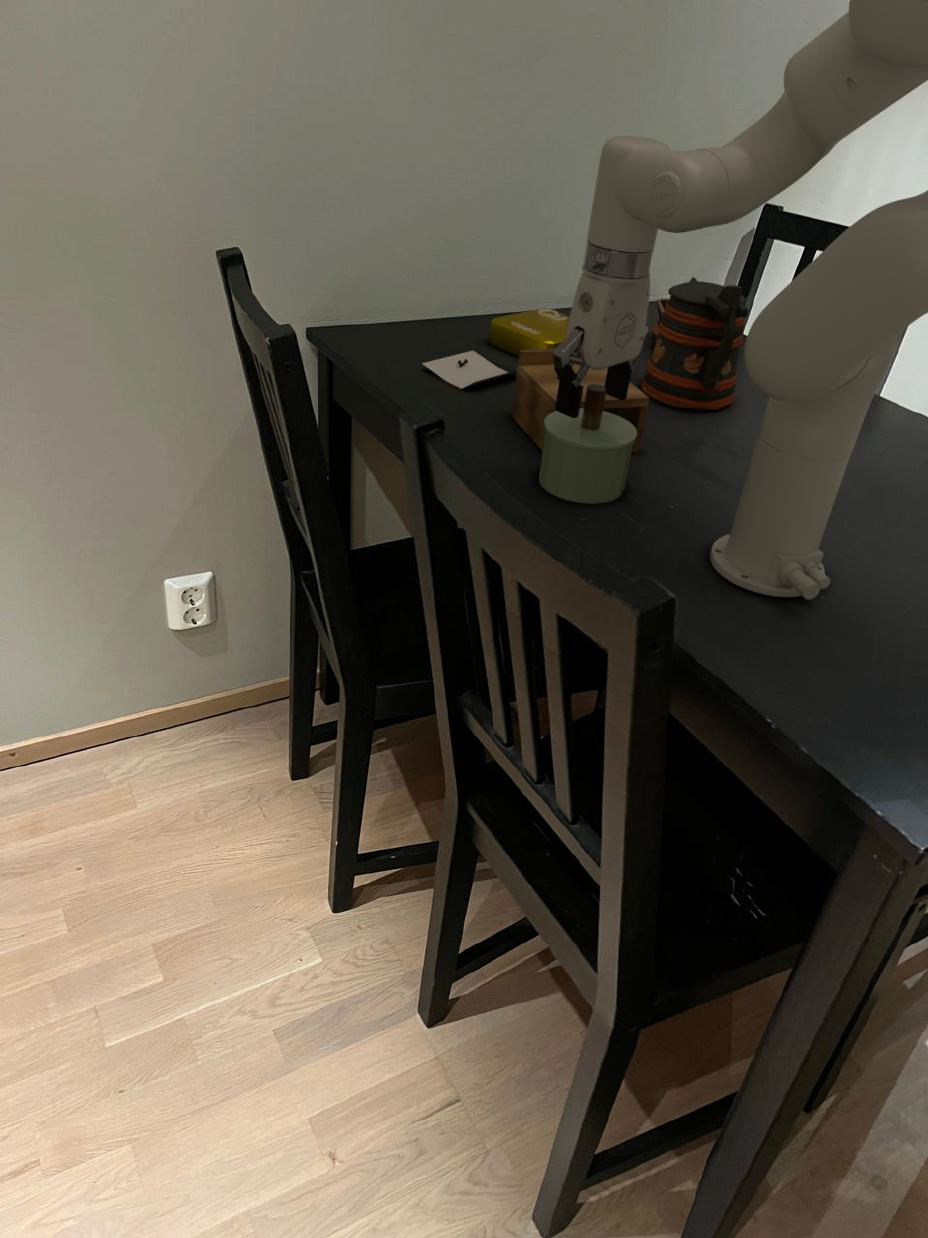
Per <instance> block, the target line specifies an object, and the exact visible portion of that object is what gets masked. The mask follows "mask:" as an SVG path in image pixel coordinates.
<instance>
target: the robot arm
mask: <svg viewBox="0 0 928 1238" xmlns="http://www.w3.org/2000/svg"><path fill="white" fill-rule="evenodd" d="M927 81H928V0H849V2H848V11H847V12H846V13H845V14H843V15H842V16H841V17H839V18H838V19H837V20H836V21H835V22H833V23H832V24H831V25H830V26H828V27H827V28H826V29H825V30H823V31H822V32H820V33H819V34H818V35H816V36H815V37H814V38H813V39H812V40H810V41H809V42H808V43H807V44H806V45H804V46H803V47H802V48H800V49H799V50H798V51H796V52H795V53H794V54H793V55H792V56H791V58H789V60H788V62H787V63H786V65H785V68H784V72H783V88H784V91H783V92H782V94H781V96H780V97H779V99H778V100H777V102H776V103H775V104H774V105H773V106H772V107H771V108H770V109H769V110H768V111H767V112H766V113H765V114H764V115H763V116H761V117H760V118H759V119H758V120H756V121H755V122H754V123H753V124H752V125H750V126H749V127H748V128H746V129H745V130H744V131H742V132H741V133H740V134H739V135H737V136H736V137H734V138H733V139H732V140H730V141H729V142H727V143H725V144H724V145H722V146H719V147H718V146H717V147H706V148H704V147H703V148H696V149H688V150H672V149H671V148H670V146H669V145H668V144H666V142H663V141H661V140H658V139H654V138H650V137H644V136H637V135H616V136H612V137H610V138H608V139H607V140H606V142H605V143H604V144H603V146H602V149H601V152H600V155H599V156H600V157H599V162H598V168H597V175H596V181H595V186H594V187H595V188H594V192H593V199H592V206H591V212H590V213H591V214H590V217H589V225H588V230H587V237H586V242H585V249H584V254H583V255H584V256H583V260H582V266H581V267H582V268H581V271H582V273H581V274H580V278H579V280H578V283H577V287H576V291H575V293H574V298H573V302H572V305H571V310H570V314H569V317H570V318H569V323H568V328H567V334H566V338H565V339H564V340H563V341H562V342H561V343H560V344H559V345H558V346H557V347H556V348H555V349H554V351H553V359H554V364H555V366H554V370H555V372H556V373H557V379H558V380H559V386H558V393H557V399H556V405H555V409H556V411H558V412H560V413H562V414H564V415H567V416H569V417H571V418H577V417H578V415H579V410H580V405H581V399H582V393H583V387H584V386H582V385H580V384H581V382H582V380H583V379H584V377H585V375H586V374H587V372H588V370H589V369H590V367H591V368H592V369H594V370H601V369H604V368H608V370H607V375H606V380H605V386H604V387H606V388H607V391H606V394H607V395H609V396H612V397H614V398H617V399H619V400H625V399H626V397H627V392H628V387H629V383H631V382H630V381H631V378H632V377H631V376H632V371H633V369H634V368H635V367H636V365H637V357H638V356H639V355H640V353H641V351H642V349H643V344H644V342H645V341H644V340H645V339H646V338H647V337H646V336H647V334H648V332H649V326H648V325H647V319H648V313H649V304H650V297H651V295H650V294H651V274H650V270H651V265H652V261H653V256H654V252H655V251H654V250H655V247H656V241H657V237H658V233H659V232H658V231H659V230H660V231H663V232H666V233H673V234H682V233H688V232H693V231H697V230H702V229H705V228H710V227H711V228H712V227H718V226H723V225H728V224H730V223H733V222H736V221H738V220H740V219H742V218H744V217H746V216H747V215H749V214H750V213H752V212H753V211H755V210H757V209H759V208H760V207H762V206H763V205H765V204H766V203H768V202H769V201H771V200H772V199H774V198H775V197H777V196H778V195H779V194H781V193H782V192H784V191H785V190H787V189H788V188H789V187H791V186H792V185H794V184H795V183H796V182H797V181H799V180H800V179H802V178H803V177H804V176H805V175H807V173H809V172H810V171H811V170H812V169H813V168H814V167H815V166H816V165H817V164H818V163H820V161H822V160H823V159H824V158H825V157H827V156H828V155H829V153H831V151H832V150H833V149H834V148H835V146H837V144H838V143H839V142H841V141H842V140H843V139H845V138H847V137H848V136H849V135H850V134H852V133H853V132H855V131H856V130H858V129H859V128H861V127H862V126H864V125H865V124H866V123H868V122H869V121H871V120H872V119H874V118H875V117H876V116H877V115H879V114H880V113H882V112H883V111H885V110H886V109H888V108H890V107H891V106H892V105H894V104H896V102H898V101H900V100H901V99H903V98H904V97H906V96H907V95H908V94H910V93H912V92H913V91H914V90H916V89H918V88H919V87H920V86H922V85H923V84H925V83H926V82H927ZM926 314H928V189H927V190H926V191H924V192H922V193H920V194H917V195H914V196H909V197H906V198H902V199H898V200H894V201H891V202H887V203H886V204H883V205H881V206H878V207H875V208H874V209H872V210H871V211H870V212H868V213H867V214H865V215H864V216H862V217H861V218H860V219H858V220H856V221H855V222H854V223H853V224H852V225H850V226H849V227H848V228H846V229H845V230H844V231H843V232H842V233H841V234H840V235H838V237H837V238H836V239H835V240H834V241H832V242H831V243H830V244H829V245H828V246H827V247H826V248H825V249H824V250H823V251H822V252H820V253H819V255H818V256H816V257H815V259H814V260H812V262H810V263H809V264H808V265H807V266H806V267H805V268H804V269H803V270H802V271H801V272H800V273H798V274H797V275H796V277H794V279H793V280H791V281H790V282H789V283H788V284H787V285H786V286H785V287H784V288H783V289H782V290H781V291H780V292H779V293H777V295H776V296H775V297H773V298H772V300H770V302H769V303H768V304H766V306H765V307H764V308H763V309H762V310H761V311H760V313H759V314H758V315H757V316H756V318H755V319H754V321H753V322H752V324H751V326H750V328H749V331H748V333H747V336H746V340H745V344H744V365H745V369H746V373H747V376H748V377H749V379H750V381H751V382H752V384H753V385H754V386H755V388H756V389H757V390H758V391H760V392H761V393H763V395H765V396H767V397H769V398H768V401H767V404H766V407H765V410H764V412H763V415H762V419H761V421H760V422H761V423H760V426H759V430H758V431H757V435H756V439H755V443H754V446H753V450H752V454H751V457H750V460H749V465H748V468H747V471H746V475H745V479H744V482H743V486H742V489H741V493H740V496H739V500H738V504H737V507H736V511H735V514H734V518H733V522H732V525H731V529H730V533H729V534H725V535H723V536H721V537H718V538H717V539H716V540H715V541H714V542H713V544H712V546H711V549H710V553H709V560H710V563H711V565H712V567H713V568H714V570H715V571H717V573H718V574H719V575H721V577H723V578H724V579H726V580H727V581H729V582H731V583H732V584H733V585H736V586H738V587H739V588H742V589H745V590H747V591H750V592H753V593H756V594H761V595H764V596H771V597H778V598H797V597H803V598H804V599H806V600H808V601H810V600H813V599H815V598H817V596H818V595H819V593H820V592H821V590H824V589H826V588H828V587H829V586H830V585H831V581H832V580H831V579H830V577H829V576H827V574H826V571H825V570H826V569H825V567H824V565H823V563H822V560H823V558H824V552H823V551H822V550H820V545H821V543H822V540H823V536H824V535H825V530H826V528H827V524H828V521H829V519H830V516H831V513H832V511H833V508H834V504H835V502H836V499H837V496H838V493H839V491H840V488H841V484H842V481H843V479H844V476H845V473H846V470H847V467H848V464H849V461H850V458H851V455H852V453H853V452H854V448H855V446H856V443H857V441H858V437H859V434H860V431H861V429H862V426H863V423H864V421H865V419H866V416H867V413H868V410H869V408H870V406H871V404H872V401H873V399H874V397H875V395H876V393H877V390H878V388H879V386H880V385H881V382H882V380H883V378H884V376H885V374H886V372H887V370H888V367H889V365H890V363H891V361H892V358H893V356H894V354H895V350H896V348H897V344H898V339H899V334H900V333H902V332H903V331H904V330H905V329H907V328H908V327H909V326H910V325H912V324H913V323H915V322H916V321H917V320H918V319H920V318H922V317H923V316H925V315H926ZM581 357H584V359H583V358H581ZM574 364H577V365H579V366H580V367H579V369H578V371H577V372H576V373H575V372H574V370H573V368H572V367H573V365H574Z"/></svg>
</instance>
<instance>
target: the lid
mask: <svg viewBox="0 0 928 1238" xmlns="http://www.w3.org/2000/svg"><path fill="white" fill-rule="evenodd" d="M606 391H607V388H606V387H604V386H602V385H597V384H591V385H588V386H587V390H586V397H585V403H584V409H581V408H580V410H579V415H578V417H577V418H571V417H569V416H567V415H564V414H562V413H560V412H558V411H555V412H553V413H550V414H549V415H548V416H547V417H546V418H545V420H544V428H545V430H546V432H547V433H548V434H549V435H551V436H552V437H554V438H555V439H557V440H559V441H561V442H564V443H567V444H570V445H573V446H577V447H582V448H588V449H598V450H609V449H618V448H622V447H626V446H628V445H630V444H632V443H633V442H634V441H635V439H636V436H637V430H636V428H635V427H634V426H633V425H632V424H631V423H630V422H629V421H627V420H625V419H624V418H622V417H619V416H617V415H614V414H611V413H608V412H604V411H603V408H604V403H605V397H606Z"/></svg>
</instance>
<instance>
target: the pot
mask: <svg viewBox="0 0 928 1238" xmlns="http://www.w3.org/2000/svg"><path fill="white" fill-rule="evenodd" d="M633 443H634V442H633ZM633 443H632V444H630V445H628V446H626V447H622V448H618V449H609V450H598V449H588V448H582V447H577V446H573V445H570V444H567V443H564V442H561V441H559V440H557V439H555V438H554V437H552V436H551V435H549V434H548V433H547V432H546V430H545V434H544V441H543V448H542V450H541V455H540V463H539V471H538V482H539V485H540V487H542V489H544V490H545V491H546V492H547V493H549V494H550V495H552V496H554V497H556V498H559V499H562V500H564V501H568V502H574V503H578V504H591V505H592V504H593V505H594V504H603V503H609V502H612V501H615V500H617V499H618V498H620V497H621V496H622V494H623V493H624V491H625V488H626V483H627V478H628V474H629V468H630V463H631V457H632V454H633V453H632V448H633Z"/></svg>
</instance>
